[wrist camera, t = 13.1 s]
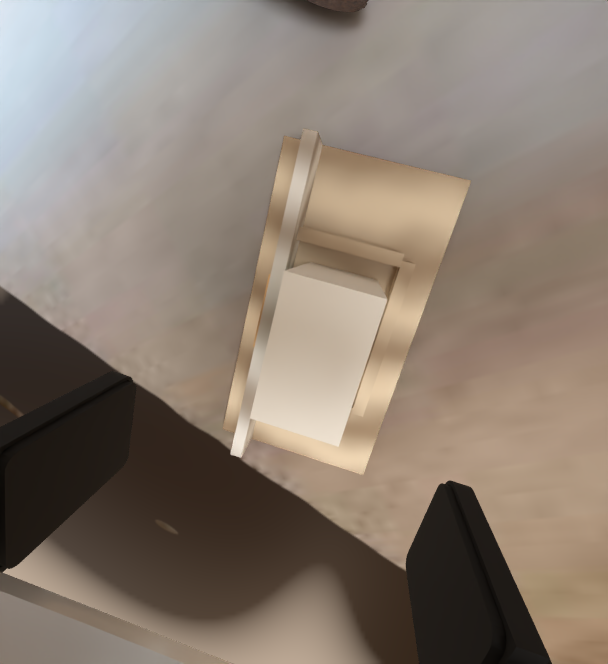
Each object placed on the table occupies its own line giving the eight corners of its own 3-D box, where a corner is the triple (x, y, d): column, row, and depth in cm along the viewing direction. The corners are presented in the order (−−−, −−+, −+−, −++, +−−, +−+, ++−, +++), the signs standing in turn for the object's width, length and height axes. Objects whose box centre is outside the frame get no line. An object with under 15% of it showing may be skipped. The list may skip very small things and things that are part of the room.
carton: (377, 280, 26) (387, 299, 17) (345, 380, 29) (338, 446, 19) (310, 261, 27) (283, 270, 17) (284, 362, 29) (248, 418, 20)
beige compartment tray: (287, 139, 26) (274, 121, 22) (466, 183, 25) (486, 171, 21) (226, 423, 33) (209, 446, 29) (362, 468, 32) (363, 498, 28)
